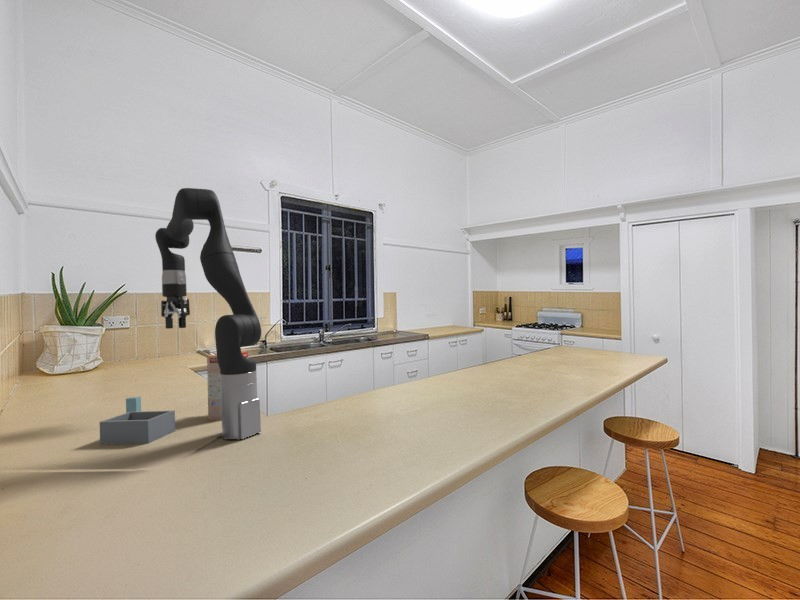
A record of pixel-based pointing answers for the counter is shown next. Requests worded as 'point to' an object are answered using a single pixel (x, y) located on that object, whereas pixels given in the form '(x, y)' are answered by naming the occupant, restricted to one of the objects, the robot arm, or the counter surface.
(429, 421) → the counter surface
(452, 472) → the counter surface
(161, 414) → the tub
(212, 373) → the cracker box
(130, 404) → the lid
